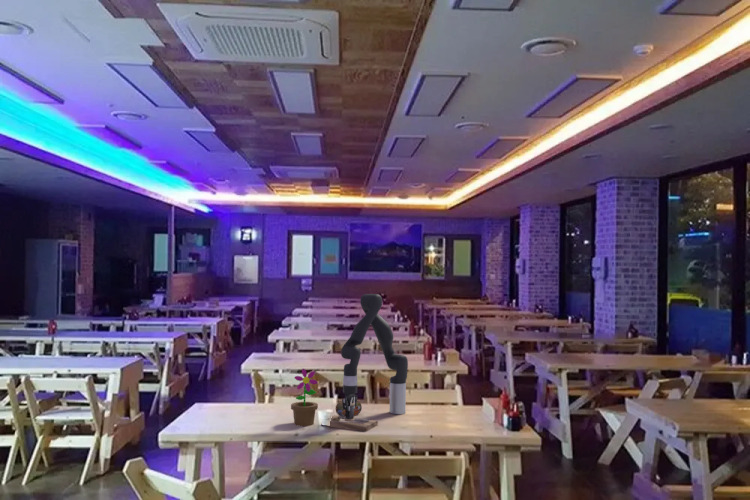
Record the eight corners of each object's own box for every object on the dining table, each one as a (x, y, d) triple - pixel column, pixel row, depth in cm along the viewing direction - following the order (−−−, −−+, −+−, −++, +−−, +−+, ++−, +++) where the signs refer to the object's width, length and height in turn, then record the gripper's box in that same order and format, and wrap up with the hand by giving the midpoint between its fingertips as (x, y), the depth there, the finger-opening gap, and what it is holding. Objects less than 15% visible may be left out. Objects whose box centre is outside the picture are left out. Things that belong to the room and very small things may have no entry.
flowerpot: (292, 427, 340) (293, 369, 341) (288, 421, 354) (289, 365, 354) (320, 426, 344) (320, 368, 344) (315, 419, 358) (315, 364, 358)
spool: (347, 418, 350) (347, 401, 350) (356, 419, 348) (356, 402, 348) (342, 420, 345) (343, 403, 345) (351, 421, 343) (351, 404, 343)
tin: (336, 417, 365) (336, 401, 365) (334, 415, 368) (334, 400, 368) (361, 415, 371) (362, 400, 371) (359, 413, 374) (360, 399, 374)
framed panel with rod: (334, 419, 358) (334, 415, 358) (377, 425, 347) (377, 420, 347) (321, 425, 346) (321, 420, 346) (366, 431, 335) (366, 426, 335)
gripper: (350, 386, 339) (349, 420, 338) (362, 382, 352) (361, 414, 351) (337, 385, 342) (336, 418, 342) (349, 381, 355) (349, 413, 355)
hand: (349, 416), depth 347 cm, fingers closed on spool, 4 cm apart
